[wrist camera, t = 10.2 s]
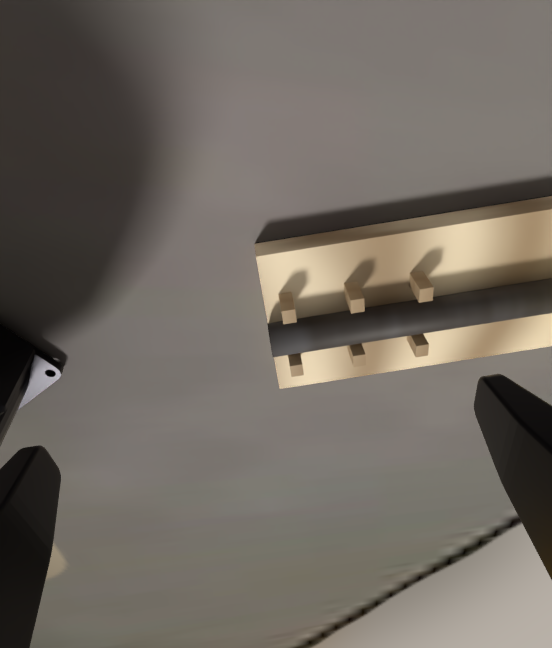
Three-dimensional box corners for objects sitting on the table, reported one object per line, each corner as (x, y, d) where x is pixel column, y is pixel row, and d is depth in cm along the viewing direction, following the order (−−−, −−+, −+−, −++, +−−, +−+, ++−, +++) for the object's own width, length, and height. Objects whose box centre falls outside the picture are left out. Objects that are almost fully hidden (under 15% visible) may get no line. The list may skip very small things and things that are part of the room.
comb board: (277, 373, 26) (285, 436, 22) (254, 243, 21) (260, 297, 18) (676, 310, 26) (748, 363, 22) (744, 164, 21) (850, 203, 17)
